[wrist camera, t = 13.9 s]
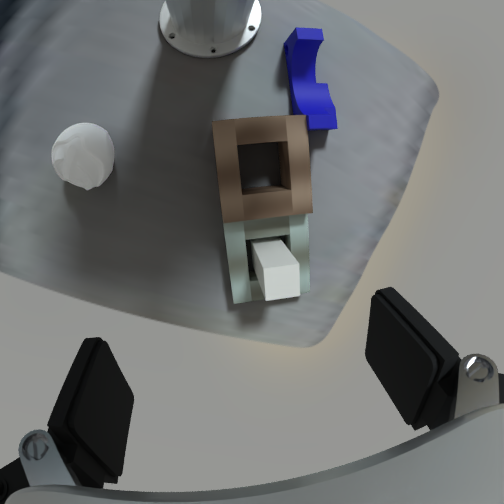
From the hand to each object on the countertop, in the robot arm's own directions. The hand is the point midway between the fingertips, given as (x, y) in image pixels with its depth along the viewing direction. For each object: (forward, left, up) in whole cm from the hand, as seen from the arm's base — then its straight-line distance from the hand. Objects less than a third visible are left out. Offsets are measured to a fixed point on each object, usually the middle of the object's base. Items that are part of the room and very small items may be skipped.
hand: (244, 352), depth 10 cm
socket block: (+1, +5, -29) cm, 29 cm away
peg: (+7, +5, -29) cm, 30 cm away
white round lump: (-9, -15, -29) cm, 34 cm away
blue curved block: (-14, +12, -29) cm, 35 cm away
